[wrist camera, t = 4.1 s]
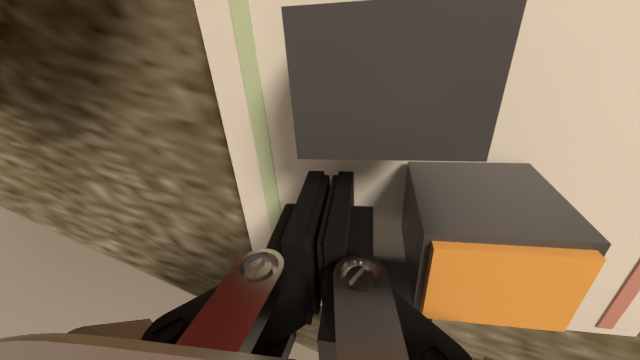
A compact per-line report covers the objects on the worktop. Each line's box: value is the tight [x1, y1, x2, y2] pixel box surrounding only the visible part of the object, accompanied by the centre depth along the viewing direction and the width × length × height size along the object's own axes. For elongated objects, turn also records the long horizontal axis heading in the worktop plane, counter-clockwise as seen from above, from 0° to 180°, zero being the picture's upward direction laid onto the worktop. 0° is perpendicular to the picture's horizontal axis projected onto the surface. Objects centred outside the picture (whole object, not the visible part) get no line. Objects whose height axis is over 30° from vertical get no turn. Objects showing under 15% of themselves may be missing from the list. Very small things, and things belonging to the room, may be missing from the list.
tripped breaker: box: [401, 161, 611, 332], centre depth 9 cm, size 4×3×4 cm
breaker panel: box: [194, 0, 640, 360], centre depth 10 cm, size 18×15×6 cm
